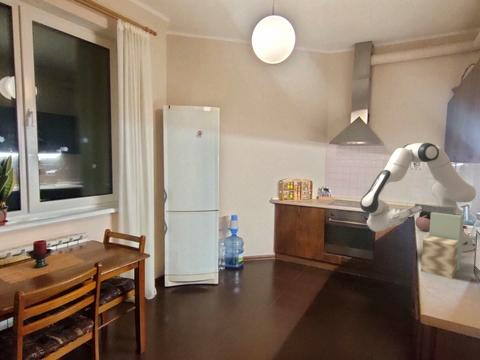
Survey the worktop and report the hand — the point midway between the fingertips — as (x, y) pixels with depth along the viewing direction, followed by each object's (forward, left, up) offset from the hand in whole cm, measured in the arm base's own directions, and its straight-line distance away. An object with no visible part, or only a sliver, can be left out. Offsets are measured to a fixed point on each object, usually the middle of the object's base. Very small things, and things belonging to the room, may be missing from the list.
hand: (422, 206), depth 155 cm
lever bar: (-2, +4, -2) cm, 5 cm away
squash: (-79, -69, -28) cm, 109 cm away
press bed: (+5, +15, -28) cm, 32 cm away
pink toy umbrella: (-57, -52, -28) cm, 82 cm away
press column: (-6, +9, -28) cm, 30 cm away
